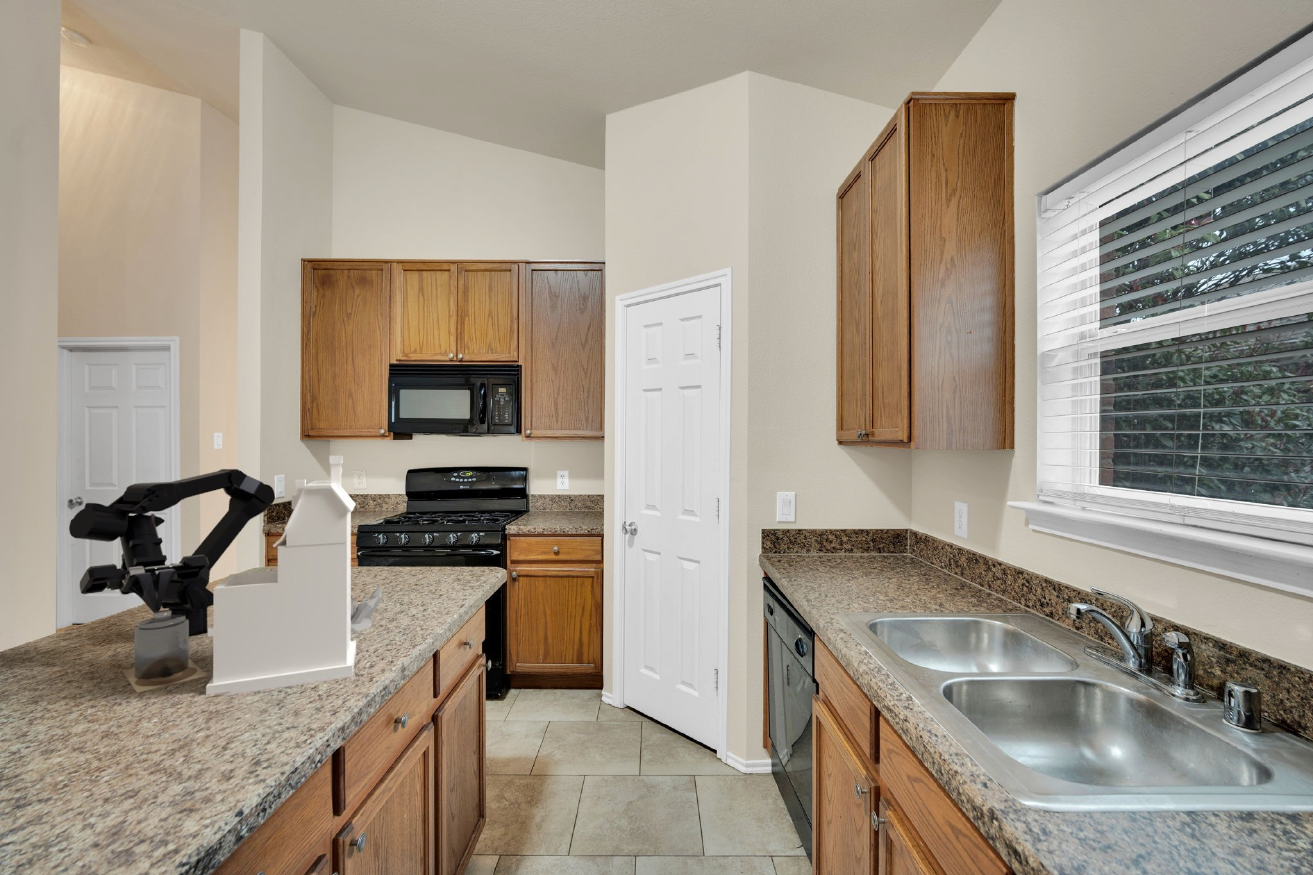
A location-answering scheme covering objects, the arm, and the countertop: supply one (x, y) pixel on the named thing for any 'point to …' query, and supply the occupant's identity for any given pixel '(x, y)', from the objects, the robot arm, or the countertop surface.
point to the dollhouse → (291, 601)
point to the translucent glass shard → (364, 611)
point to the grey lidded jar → (161, 645)
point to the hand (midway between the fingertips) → (157, 611)
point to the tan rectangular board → (163, 678)
